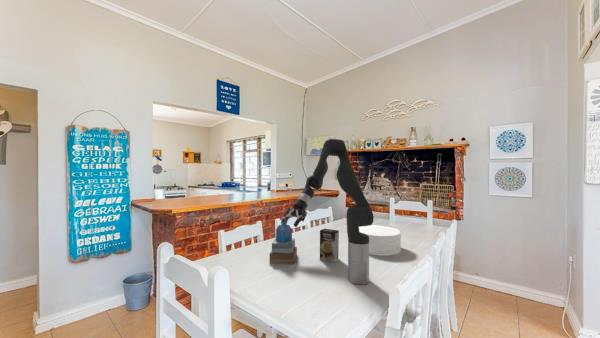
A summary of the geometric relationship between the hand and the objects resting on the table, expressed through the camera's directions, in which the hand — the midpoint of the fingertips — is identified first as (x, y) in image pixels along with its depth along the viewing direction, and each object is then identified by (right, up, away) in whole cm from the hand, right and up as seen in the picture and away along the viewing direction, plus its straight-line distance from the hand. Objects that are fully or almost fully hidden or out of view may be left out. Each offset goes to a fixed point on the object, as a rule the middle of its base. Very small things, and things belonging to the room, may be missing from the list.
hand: (289, 224), depth 142 cm
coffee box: (+22, -18, -4) cm, 29 cm away
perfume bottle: (-3, -8, -3) cm, 9 cm away
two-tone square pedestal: (-3, -18, -3) cm, 19 cm away
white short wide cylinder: (+55, -19, +16) cm, 60 cm away
